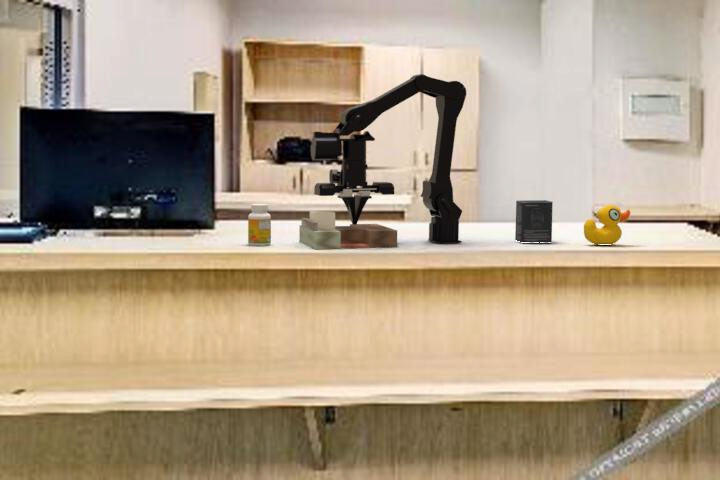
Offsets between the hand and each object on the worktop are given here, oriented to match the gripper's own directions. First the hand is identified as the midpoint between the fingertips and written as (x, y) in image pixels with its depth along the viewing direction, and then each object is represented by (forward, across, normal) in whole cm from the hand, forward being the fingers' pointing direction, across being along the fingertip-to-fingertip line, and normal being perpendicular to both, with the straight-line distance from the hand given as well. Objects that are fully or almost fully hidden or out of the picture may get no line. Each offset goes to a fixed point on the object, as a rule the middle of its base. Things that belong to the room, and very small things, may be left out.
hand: (354, 224), depth 227 cm
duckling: (+6, -60, +15) cm, 62 cm away
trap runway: (+5, +2, 0) cm, 5 cm away
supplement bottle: (+5, +23, -3) cm, 23 cm away
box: (+6, -45, +6) cm, 46 cm away
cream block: (+1, +8, 0) cm, 8 cm away
